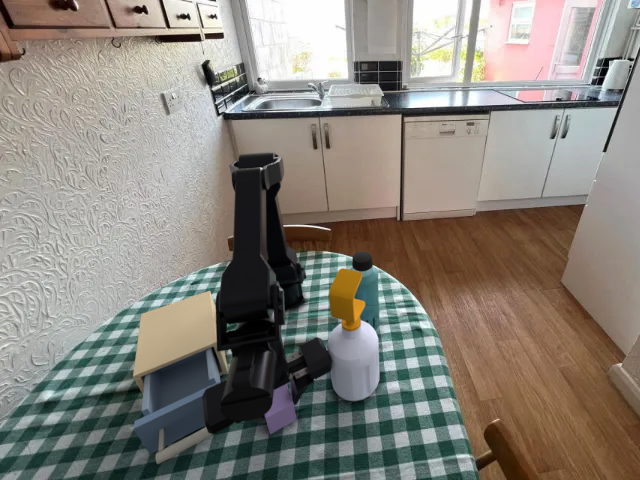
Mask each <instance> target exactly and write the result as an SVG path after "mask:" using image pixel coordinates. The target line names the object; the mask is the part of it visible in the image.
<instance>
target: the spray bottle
mask: <svg viewBox="0 0 640 480" xmlns="http://www.w3.org/2000/svg"><path fill="white" fill-rule="evenodd" d="M361 279H362V273H360V272H358V271H354V270H350V269H349V268H345V267H343V268H339V270H338V271H337V273H336V275H335V277H334V279H333V281H332V283H331V286H330V288H329V291H328V304H329V311H330V316H331V318H335V319H339V320H341V323H339V324H338V325H337V326H335V327H334V328H333V329H332V331H331V333H330V334H329V337H328V339H327V344H326V349H327V351H328V353H329V355H330V358H331V361H332V369H331V372H329V373H330V380H331V384H332V389H333V391H334V392H335V393H336V394H337V396H338V397H340V398H342V399H343V400H345V401H350V402H358V401H363V400H365V399H367V398H368V397H370V396H371V395H372V394H373V392H374V391H375V390H376V389H377V387H378V385H379V382H380V347H379V337H378V334H377V331H375V330H374V328H373V327H372V326H371V325H370V324H369V323H366V322H364V321H362V320H361V319H360V315H361V313H362V311H363V309H364V307H365V302H364V301H362V300H358V299H354V297H355V293H356V291H357V289H358V286H359V284H360V281H361Z"/></svg>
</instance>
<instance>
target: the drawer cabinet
mask: <svg viewBox="0 0 640 480" xmlns="http://www.w3.org/2000/svg"><path fill="white" fill-rule="evenodd" d="M136 343H137V344H136V351H135V358H134V364H133V365H134V367H133V373H132V377H133V379H134V381H135V383H136V385H137V386H138V388H139V390H140V393H141V394H142V395H143V391H144V380H145V375H146V374H149V373H151V372H154V371H156V370H158V369H161V368H163V367H166V366H168V365H170V364H173V363H175V362H177V361H180V360H182V359H185V358H187V357H189V356H192V355H194V354H197V353H199V352H201V351H204V350H206V349H209V348H211V347H213V346H214V349H215V352H216V355H217V359H218V367H219V374H220V377H221V376H223V375H225V374H228V372H229V369H228V364H227V358H226V357H227V356H226V350H225V351H219V352H218V351H217V335H216V303H215V301H214V298H213V296H212V293H211V290H208V291H205V292H202V293H199V294H196V295H192V296H189V297H186V298H184V299H181V300H179V301H175V302H173V303H169V304H167V305H166V304H165V305H164V306H161V307H158V308H154V309H152V310H149V311H146V312H142V313H141V314H140V321H139V329H138V335H137V342H136Z"/></svg>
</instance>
